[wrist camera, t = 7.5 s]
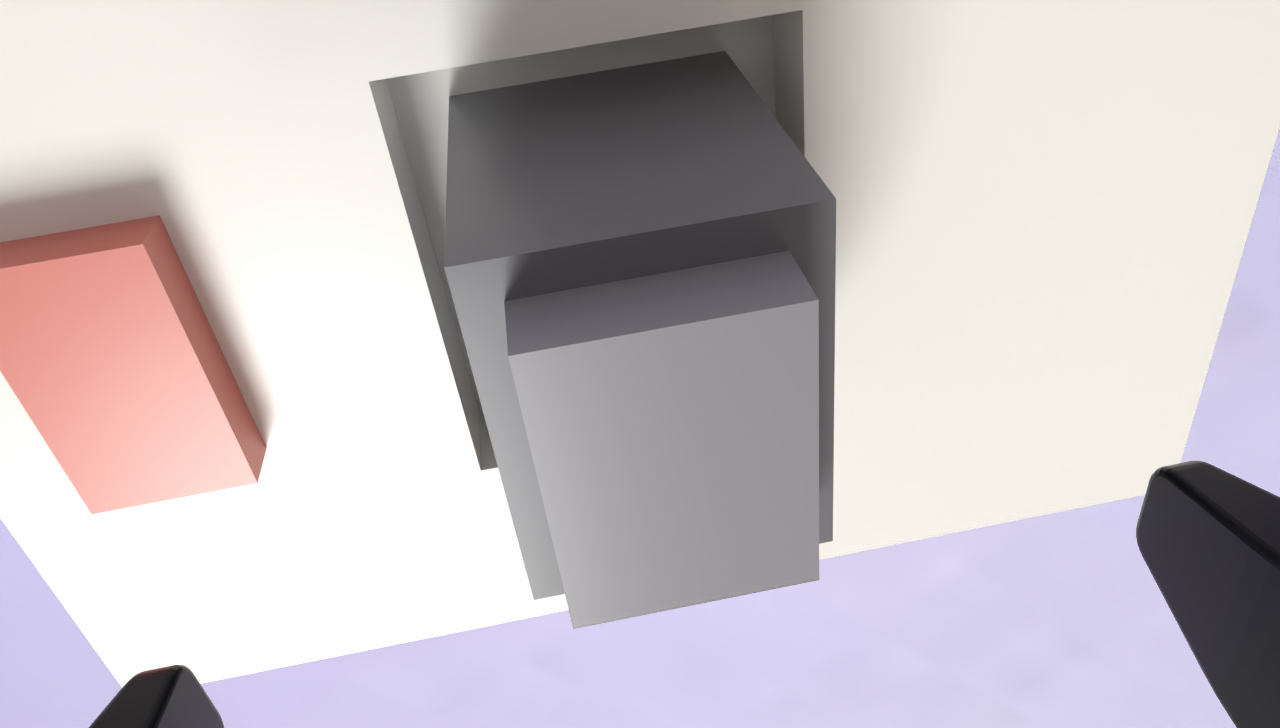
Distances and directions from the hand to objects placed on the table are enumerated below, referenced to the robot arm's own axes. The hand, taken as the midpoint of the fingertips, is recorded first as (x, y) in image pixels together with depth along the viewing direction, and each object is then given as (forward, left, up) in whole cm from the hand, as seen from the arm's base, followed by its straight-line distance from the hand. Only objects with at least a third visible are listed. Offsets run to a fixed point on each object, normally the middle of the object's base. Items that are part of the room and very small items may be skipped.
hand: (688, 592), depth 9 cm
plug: (0, 0, -8) cm, 8 cm away
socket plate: (0, 0, -9) cm, 9 cm away
